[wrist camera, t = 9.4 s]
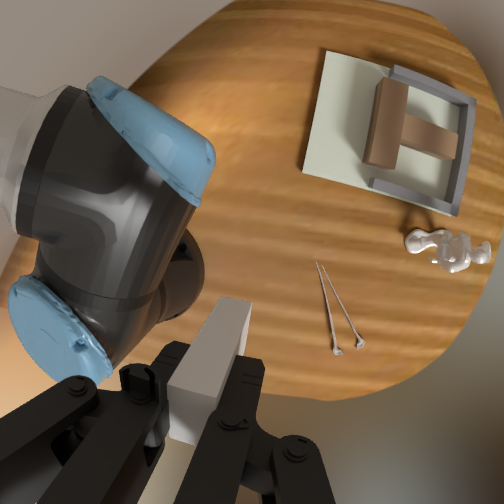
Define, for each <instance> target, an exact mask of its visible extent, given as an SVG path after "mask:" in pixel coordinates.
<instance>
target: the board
mask: <svg viewBox="0 0 504 504" xmlns="http://www.w3.org/2000/svg"><path fill="white" fill-rule="evenodd" d="M383 77H387V78H390V79H393V80H396V81H399V82H402V83H405V84H408V85H409V90H408V98H407V105H406V112H405V113H406V114H409V115H412V116H414V117H417V118H420V119H422V120H425V121H427V122H430V123H432V124H435V125H437V126H440V127H442V128H444V129H447V130H449V131H451V132H454V133H456V134H458V141H457V148H456V154H455V159H448V160H440V159H437V158H434V157H432V156H429V155H427V154H424V153H421V152H419V151H416V150H413V149H410V148H407V147H405V146H402V145H400V147H399V152H398V158H397V162H396V167H395V170H385V169H381V168H378V167H375V166H371V165H368V164H365V163H362V160H363V155H364V150H365V145H366V140H367V135H368V130H369V125H370V119H371V113H372V108H373V102H374V95H375V89H376V85H377V84H378V83H379V82H380V80H381V79H382V78H383ZM475 112H476V99H474V98H472V97H470V96H468V95H467V94H465V93H463V92H460V91H458V90H456V89H454V88H452V87H450V86H448V85H446V84H443V83H441V82H439V81H437V80H434V79H432V78H430V77H427V76H425V75H422V74H420V73H417V72H415V71H412V70H409V69H407V68H404V67H401V66H398V65H396V64H394V66H393V67H392V68H388V67H385V66H381V65H378V64H375V63H372V62H368V61H365V60H362V59H358V58H354V57H351V56H347V55H343V54H339V53H334V52H330V51H327V52H326V57H325V63H324V68H323V73H322V78H321V84H320V89H319V94H318V99H317V104H316V109H315V114H314V119H313V124H312V129H311V133H310V138H309V143H308V148H307V152H306V157H305V161H304V166H303V171H302V173H305V174H310V175H314V176H318V177H322V178H326V179H330V180H333V181H337V182H341V183H345V184H348V185H352V186H356V187H359V188H363V189H366V190H370V191H373V192H377V193H380V194H383V195H387V196H390V197H393V198H396V199H399V200H403V201H406V202H409V203H412V204H415V205H418V206H421V207H424V208H427V209H430V210H433V211H435V212H438V213H441V214H444V215H447V216H449V217H451V215H454V216H456V217H457V215H458V211H459V207H460V203H461V199H462V195H463V190H464V185H465V181H466V175H467V170H468V165H469V159H470V153H471V146H472V139H473V131H474V122H475Z"/></svg>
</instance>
